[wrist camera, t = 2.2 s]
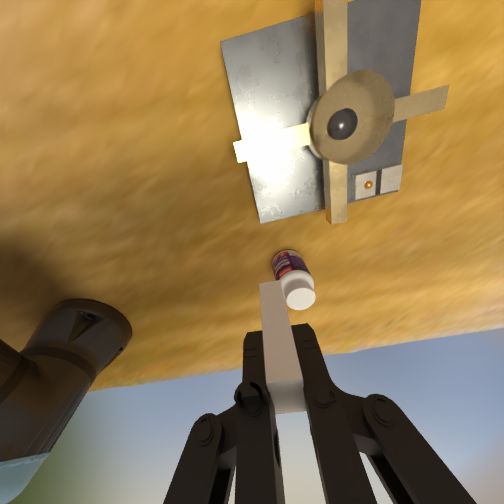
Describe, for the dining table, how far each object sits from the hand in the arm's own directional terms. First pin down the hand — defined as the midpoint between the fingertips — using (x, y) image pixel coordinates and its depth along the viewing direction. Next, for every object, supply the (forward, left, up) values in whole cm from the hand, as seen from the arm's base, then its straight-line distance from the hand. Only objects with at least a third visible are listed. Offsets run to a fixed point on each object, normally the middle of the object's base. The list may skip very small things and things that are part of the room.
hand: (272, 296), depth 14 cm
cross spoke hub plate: (+10, +9, -19) cm, 23 cm away
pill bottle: (+3, -10, -19) cm, 21 cm away
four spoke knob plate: (+10, +9, -16) cm, 21 cm away
